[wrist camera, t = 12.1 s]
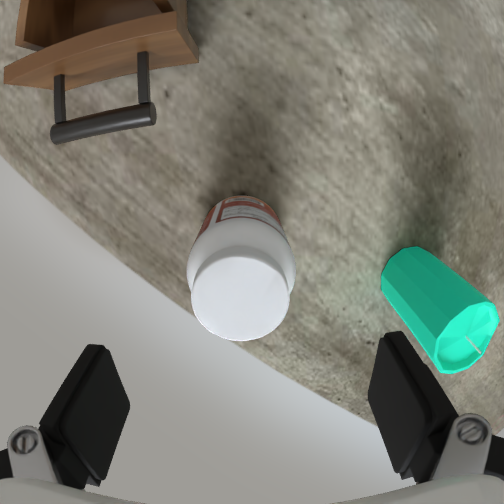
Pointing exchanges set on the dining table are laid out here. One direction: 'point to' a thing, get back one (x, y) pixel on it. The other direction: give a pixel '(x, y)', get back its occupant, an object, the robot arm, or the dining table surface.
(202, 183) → the dining table surface
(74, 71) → the drawer
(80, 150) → the dining table surface
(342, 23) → the dining table surface
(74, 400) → the robot arm
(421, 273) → the candle
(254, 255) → the pill bottle
